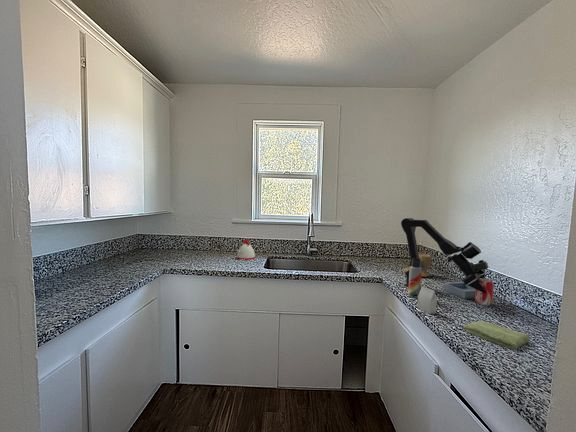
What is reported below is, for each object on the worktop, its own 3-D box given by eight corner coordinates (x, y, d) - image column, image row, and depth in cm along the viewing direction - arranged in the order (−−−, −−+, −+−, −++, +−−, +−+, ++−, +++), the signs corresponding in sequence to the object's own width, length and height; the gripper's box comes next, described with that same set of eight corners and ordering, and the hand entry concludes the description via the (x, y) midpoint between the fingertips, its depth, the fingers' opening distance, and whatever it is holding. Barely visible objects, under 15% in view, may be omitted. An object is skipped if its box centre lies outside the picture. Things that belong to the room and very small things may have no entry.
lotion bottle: (413, 298, 147) (415, 259, 146) (405, 294, 153) (407, 257, 151) (422, 297, 149) (424, 258, 148) (414, 294, 154) (416, 256, 153)
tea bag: (430, 313, 128) (431, 291, 128) (417, 308, 134) (418, 286, 134) (435, 312, 130) (437, 290, 129) (423, 307, 136) (424, 286, 135)
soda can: (471, 301, 145) (473, 278, 144) (481, 300, 147) (483, 277, 146) (485, 307, 138) (487, 282, 137) (495, 305, 140) (497, 281, 140)
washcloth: (478, 324, 120) (478, 316, 119) (531, 343, 105) (532, 334, 104) (460, 331, 113) (461, 323, 112) (515, 353, 98) (515, 343, 97)
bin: (464, 299, 148) (465, 291, 148) (443, 290, 162) (443, 283, 161) (486, 297, 152) (487, 289, 152) (463, 288, 165) (464, 282, 165)
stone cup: (434, 277, 189) (436, 254, 188) (420, 278, 185) (421, 255, 184) (416, 271, 203) (418, 250, 202) (403, 272, 199) (404, 250, 198)
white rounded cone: (248, 255, 240) (249, 237, 239) (258, 258, 230) (258, 240, 229) (233, 257, 232) (234, 239, 230) (243, 261, 221) (243, 241, 220)
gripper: (472, 257, 137) (499, 286, 130) (481, 252, 150) (506, 278, 143) (452, 270, 143) (477, 298, 136) (463, 265, 156) (486, 290, 149)
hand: (487, 291), depth 141 cm, fingers open, 9 cm apart
